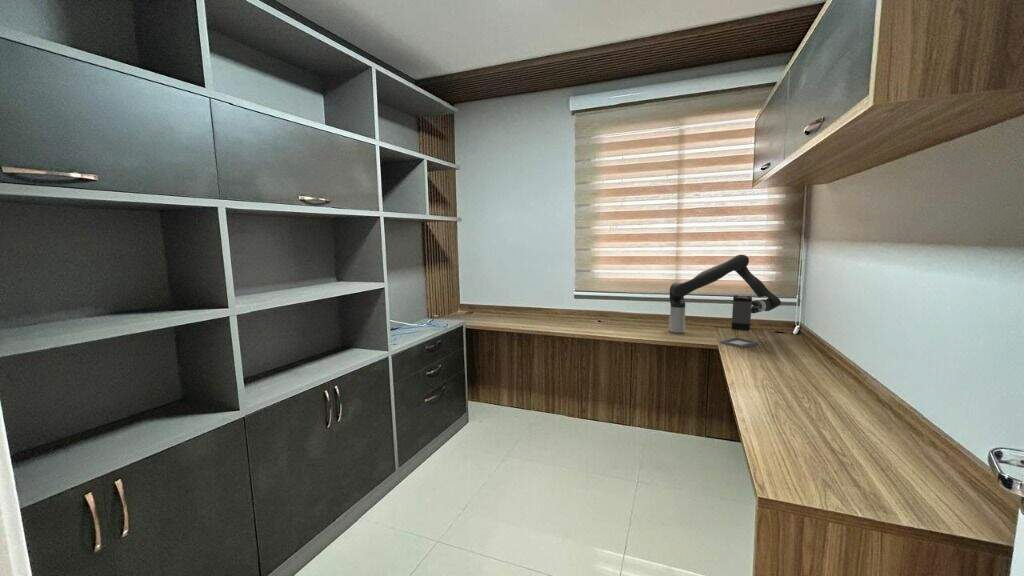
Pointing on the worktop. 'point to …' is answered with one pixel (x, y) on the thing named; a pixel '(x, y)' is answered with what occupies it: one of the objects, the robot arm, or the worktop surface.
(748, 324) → the electronic device
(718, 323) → the worktop surface
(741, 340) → the charging dock
